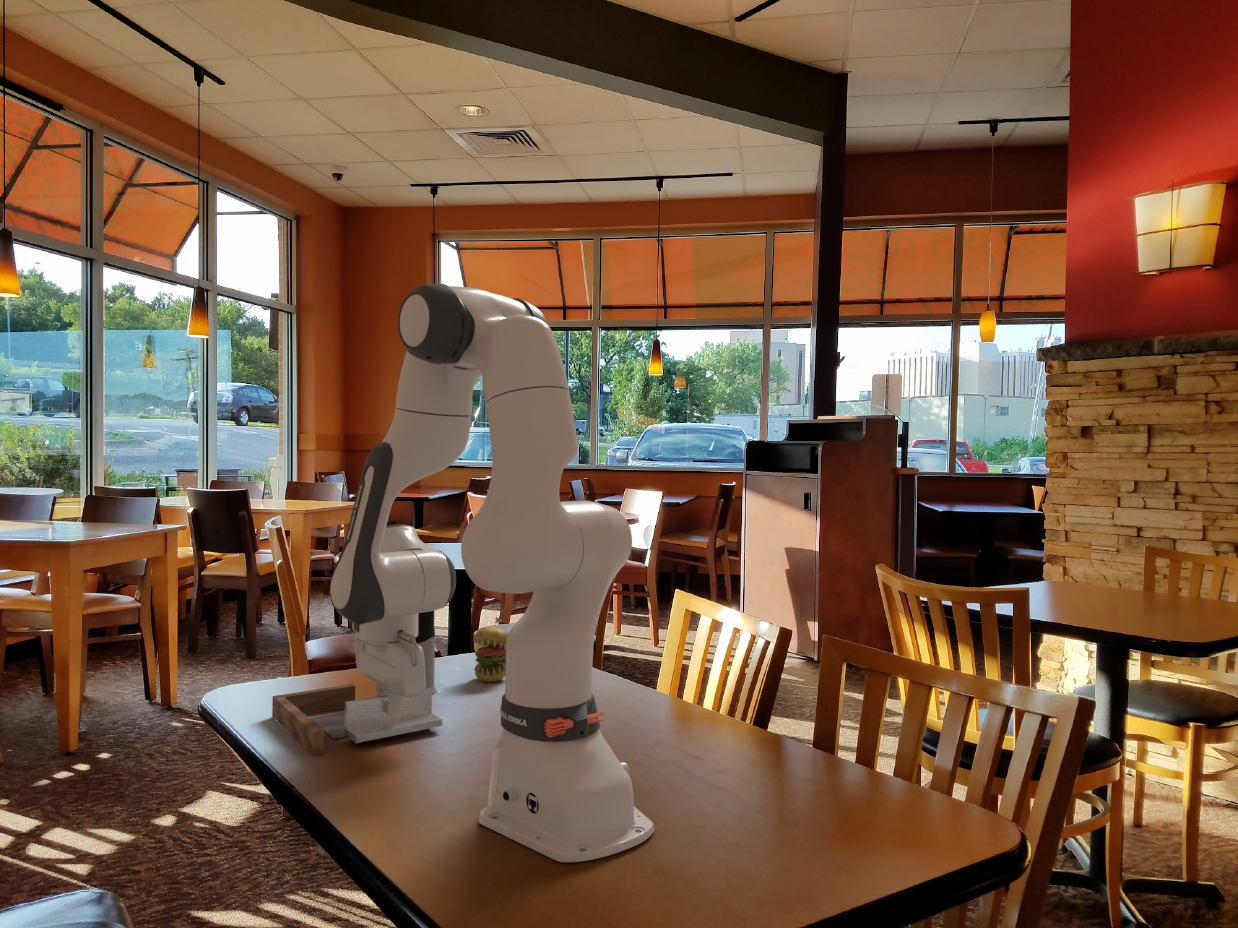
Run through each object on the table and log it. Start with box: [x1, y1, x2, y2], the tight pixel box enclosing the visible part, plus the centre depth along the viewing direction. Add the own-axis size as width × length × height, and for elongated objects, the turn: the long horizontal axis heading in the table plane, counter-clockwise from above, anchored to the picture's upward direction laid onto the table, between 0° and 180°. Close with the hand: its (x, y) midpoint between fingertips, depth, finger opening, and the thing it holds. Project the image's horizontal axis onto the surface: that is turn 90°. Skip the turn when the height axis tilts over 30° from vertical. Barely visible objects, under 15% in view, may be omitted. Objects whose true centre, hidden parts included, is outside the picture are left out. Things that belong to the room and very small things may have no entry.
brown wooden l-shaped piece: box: [271, 683, 356, 757], centre depth 135 cm, size 22×14×4 cm, turn 38°
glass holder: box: [415, 611, 437, 696], centre depth 153 cm, size 9×14×15 cm, turn 155°
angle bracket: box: [344, 688, 443, 744], centre depth 131 cm, size 14×5×5 cm, turn 127°
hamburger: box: [472, 616, 509, 683], centre depth 165 cm, size 8×7×12 cm
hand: (389, 712), depth 133 cm, fingers closed on angle bracket
